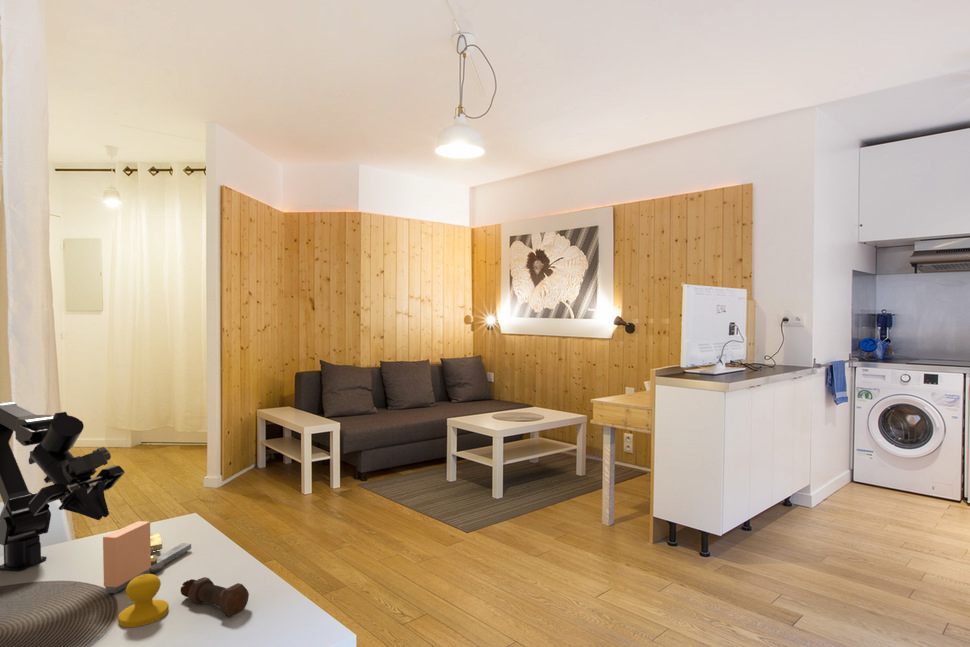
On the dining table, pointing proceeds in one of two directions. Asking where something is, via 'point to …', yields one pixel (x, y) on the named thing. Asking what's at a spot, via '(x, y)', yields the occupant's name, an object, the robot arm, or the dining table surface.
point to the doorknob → (143, 602)
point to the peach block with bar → (132, 555)
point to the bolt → (216, 595)
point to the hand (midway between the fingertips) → (104, 517)
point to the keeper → (155, 542)
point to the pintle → (153, 559)
